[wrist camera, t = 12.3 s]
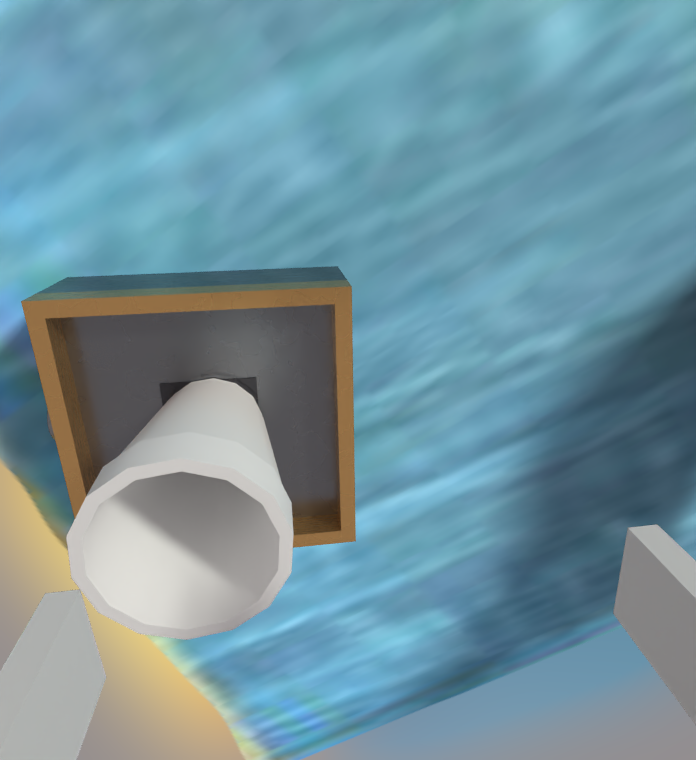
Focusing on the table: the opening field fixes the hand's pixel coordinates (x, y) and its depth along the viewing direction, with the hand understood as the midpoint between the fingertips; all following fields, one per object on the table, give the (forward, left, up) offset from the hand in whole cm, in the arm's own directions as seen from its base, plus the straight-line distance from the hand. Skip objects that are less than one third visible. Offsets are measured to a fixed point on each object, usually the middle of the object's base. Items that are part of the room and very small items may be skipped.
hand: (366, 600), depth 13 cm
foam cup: (+6, +5, -23) cm, 24 cm away
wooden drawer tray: (+6, +6, -28) cm, 29 cm away
